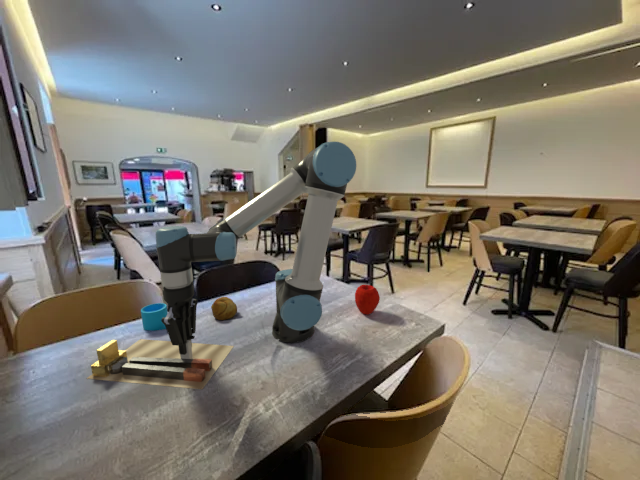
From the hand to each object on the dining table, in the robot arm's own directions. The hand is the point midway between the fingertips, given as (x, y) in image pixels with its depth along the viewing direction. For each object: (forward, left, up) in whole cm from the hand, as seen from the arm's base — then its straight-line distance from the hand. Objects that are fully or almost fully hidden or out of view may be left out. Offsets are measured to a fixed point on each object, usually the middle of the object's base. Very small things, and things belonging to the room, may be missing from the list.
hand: (187, 361), depth 78 cm
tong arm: (+4, +2, -1) cm, 4 cm away
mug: (+26, -22, -3) cm, 34 cm away
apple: (-53, -42, -3) cm, 68 cm away
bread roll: (+5, -33, -3) cm, 34 cm away
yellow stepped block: (+21, +4, -1) cm, 21 cm away
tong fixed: (+6, +4, -1) cm, 8 cm away
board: (+7, -1, -3) cm, 8 cm away
